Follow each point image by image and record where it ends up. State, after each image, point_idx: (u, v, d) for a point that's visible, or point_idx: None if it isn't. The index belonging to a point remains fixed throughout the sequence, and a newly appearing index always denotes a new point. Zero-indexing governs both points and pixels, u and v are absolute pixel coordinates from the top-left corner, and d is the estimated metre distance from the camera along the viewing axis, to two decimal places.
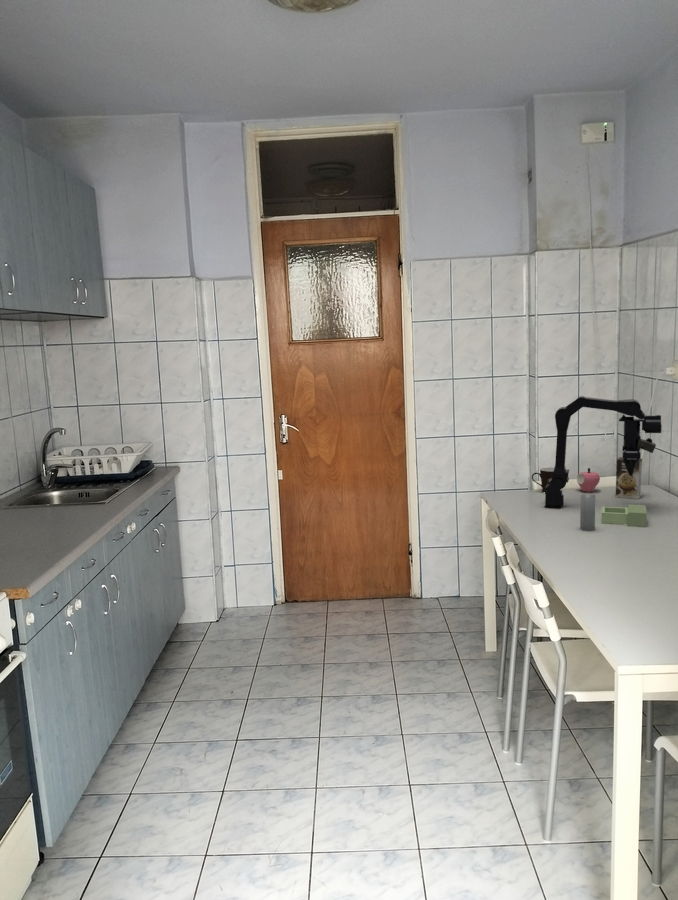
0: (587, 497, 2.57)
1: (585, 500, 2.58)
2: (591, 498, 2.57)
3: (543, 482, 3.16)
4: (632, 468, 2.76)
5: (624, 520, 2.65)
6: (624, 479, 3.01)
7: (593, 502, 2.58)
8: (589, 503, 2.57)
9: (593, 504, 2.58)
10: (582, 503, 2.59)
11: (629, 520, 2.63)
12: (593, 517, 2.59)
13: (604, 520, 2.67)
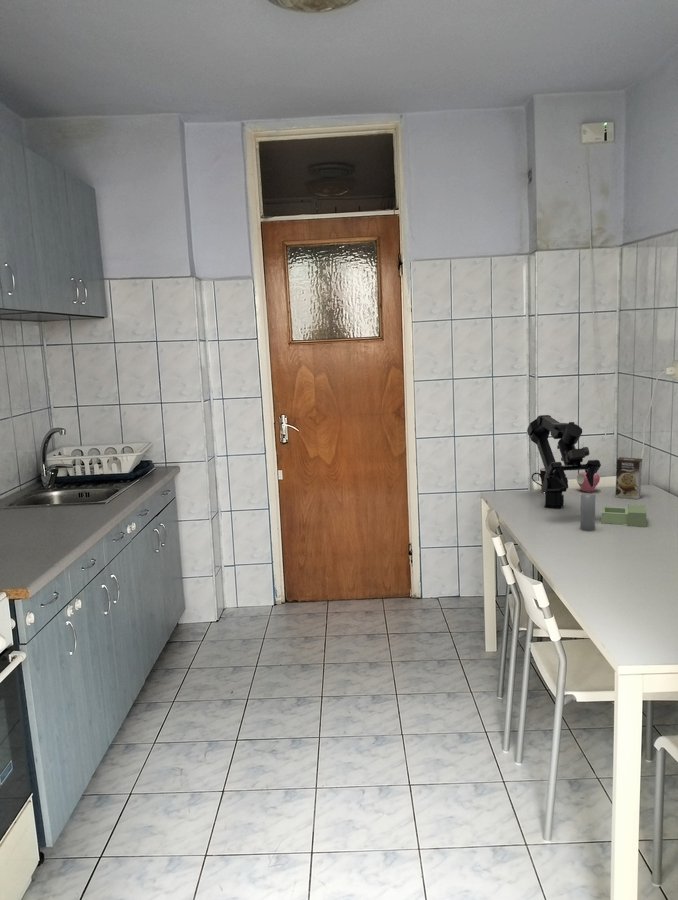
0: (587, 497, 2.57)
1: (585, 500, 2.58)
2: (591, 498, 2.57)
3: None
4: (563, 480, 2.68)
5: (624, 520, 2.65)
6: (624, 479, 3.01)
7: (593, 502, 2.58)
8: (589, 503, 2.57)
9: (593, 504, 2.58)
10: (582, 503, 2.59)
11: (629, 520, 2.63)
12: (593, 517, 2.59)
13: (604, 520, 2.67)
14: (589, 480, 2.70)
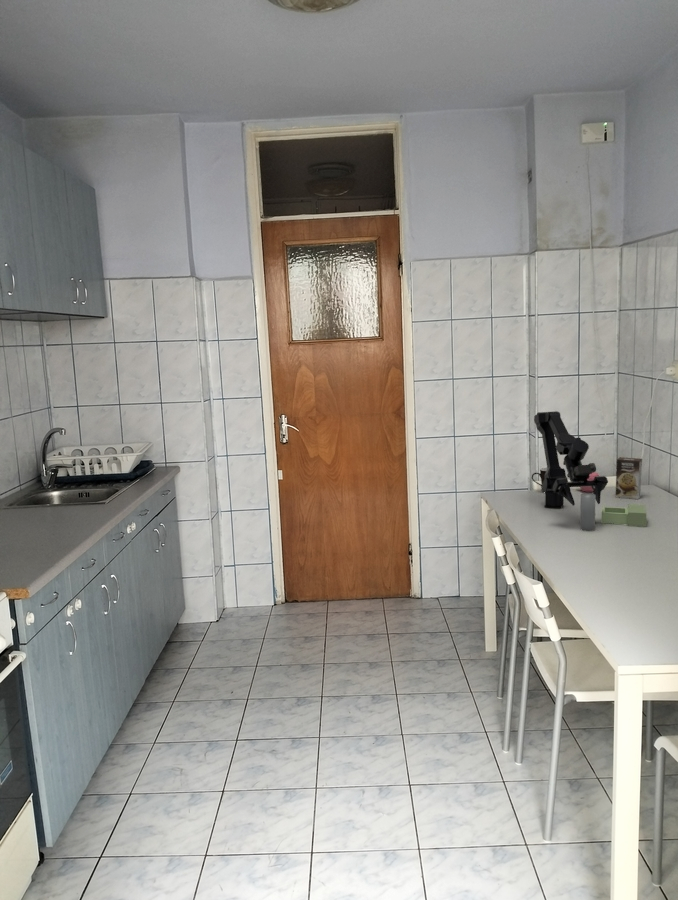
0: (587, 497, 2.57)
1: (585, 500, 2.58)
2: (591, 498, 2.57)
3: None
4: (569, 497, 2.62)
5: (624, 520, 2.65)
6: (624, 479, 3.01)
7: (593, 502, 2.58)
8: (589, 503, 2.57)
9: (593, 504, 2.58)
10: (582, 503, 2.59)
11: (629, 520, 2.63)
12: (593, 517, 2.59)
13: (604, 520, 2.67)
14: (596, 497, 2.63)
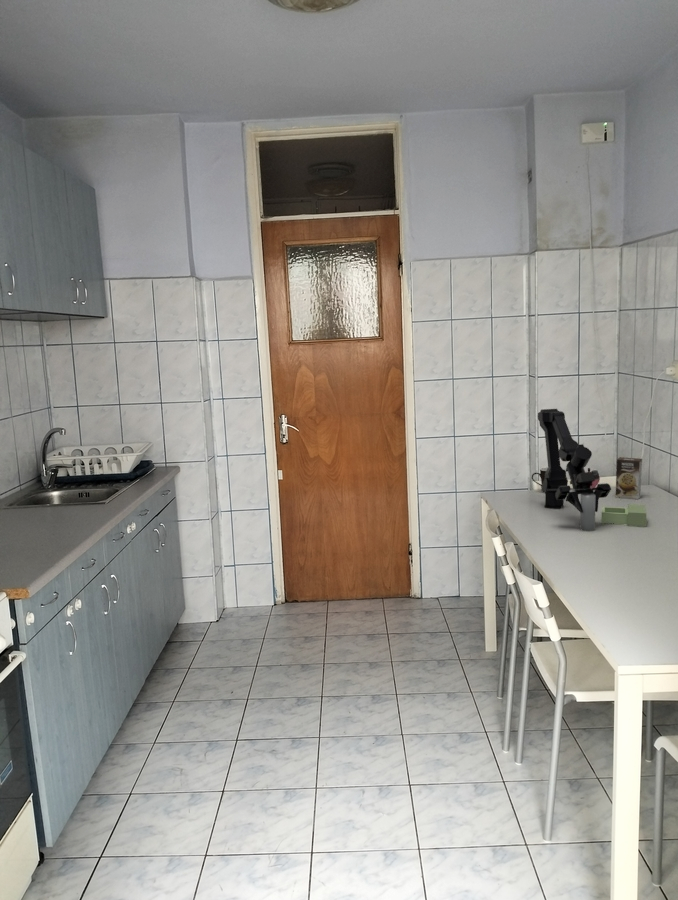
0: (587, 497, 2.57)
1: (585, 500, 2.58)
2: (591, 498, 2.57)
3: None
4: (577, 504, 2.60)
5: (624, 520, 2.65)
6: (624, 479, 3.01)
7: (593, 502, 2.58)
8: (589, 503, 2.57)
9: (593, 504, 2.58)
10: (582, 503, 2.59)
11: (629, 520, 2.63)
12: (593, 517, 2.59)
13: (604, 520, 2.67)
14: None
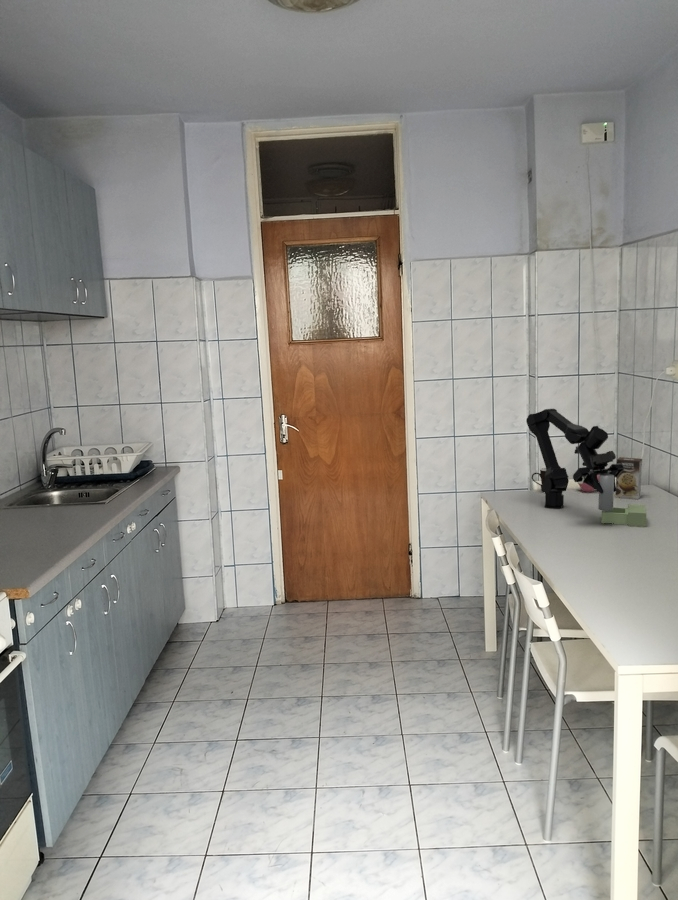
0: (608, 477, 2.60)
1: (605, 481, 2.61)
2: (611, 478, 2.60)
3: (543, 482, 3.16)
4: (597, 485, 2.62)
5: (624, 520, 2.65)
6: (624, 479, 3.01)
7: (613, 482, 2.61)
8: (609, 483, 2.61)
9: (613, 484, 2.61)
10: (602, 484, 2.62)
11: (629, 520, 2.63)
12: (612, 497, 2.62)
13: (604, 520, 2.67)
14: None
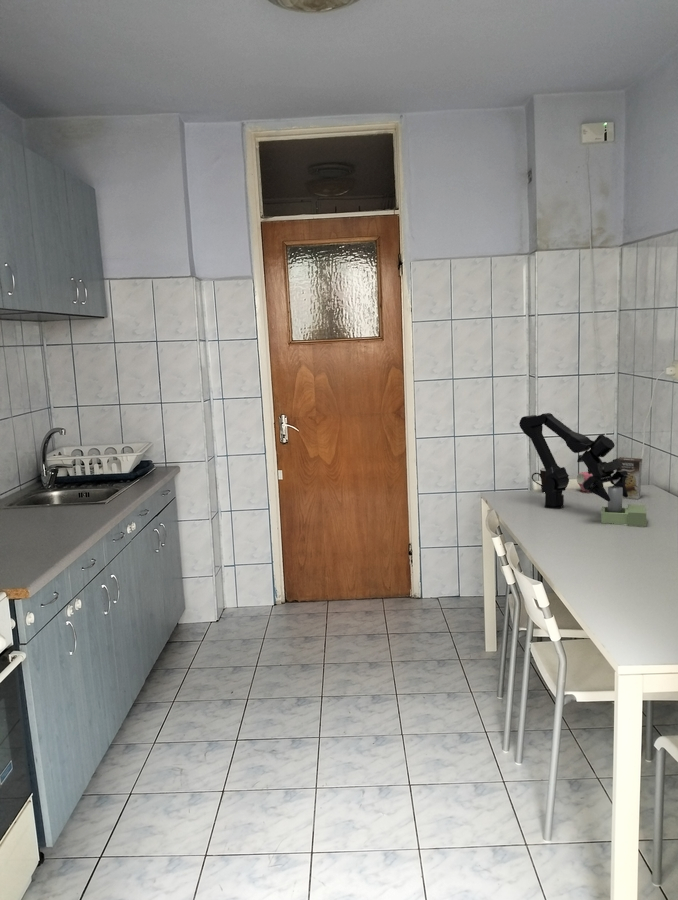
0: (618, 490, 2.66)
1: (616, 493, 2.66)
2: (621, 490, 2.66)
3: (543, 482, 3.16)
4: (603, 493, 2.66)
5: (624, 520, 2.65)
6: None
7: (622, 494, 2.67)
8: (619, 495, 2.66)
9: None
10: (612, 496, 2.67)
11: (629, 520, 2.63)
12: (621, 509, 2.68)
13: (604, 520, 2.67)
14: None
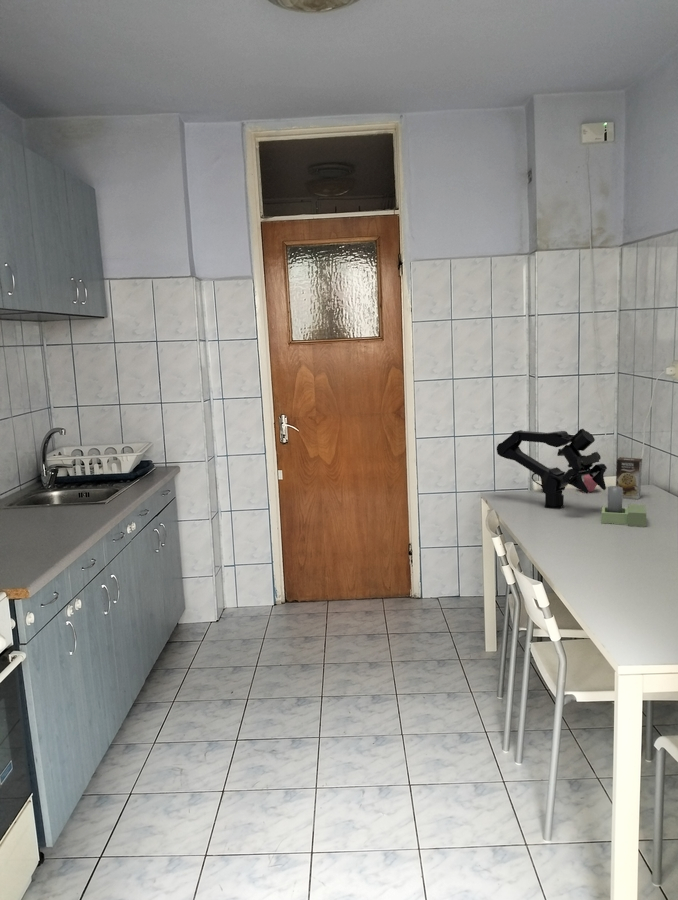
0: (618, 490, 2.66)
1: (616, 493, 2.66)
2: (621, 490, 2.66)
3: (543, 482, 3.16)
4: (582, 486, 2.74)
5: (624, 520, 2.65)
6: (624, 479, 3.01)
7: (622, 494, 2.67)
8: (619, 495, 2.66)
9: None
10: (612, 496, 2.67)
11: (629, 520, 2.63)
12: (621, 509, 2.68)
13: (604, 520, 2.67)
14: (600, 484, 2.80)
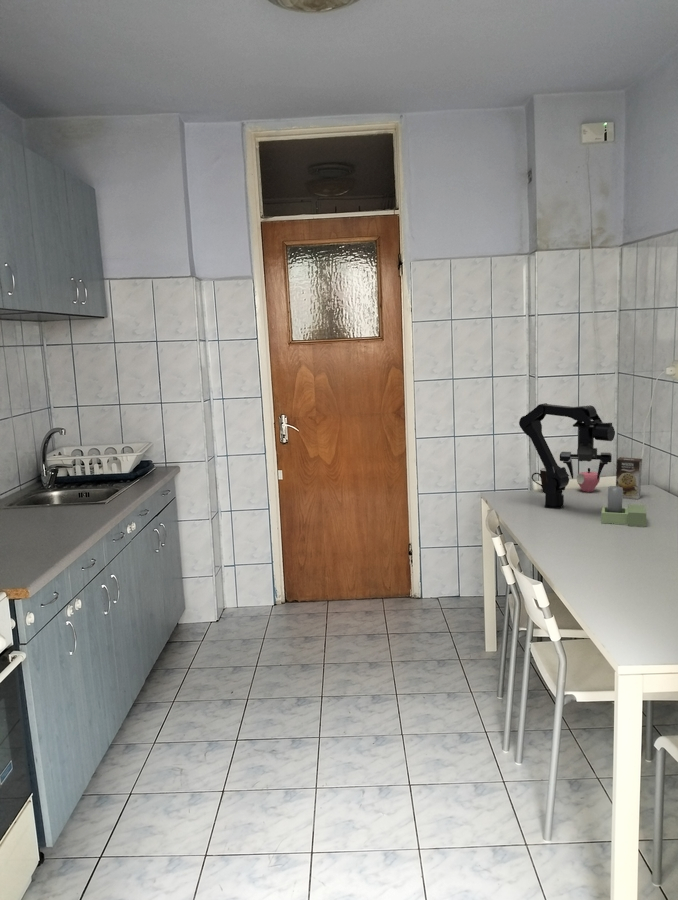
0: (618, 490, 2.66)
1: (616, 493, 2.66)
2: (621, 490, 2.66)
3: (543, 482, 3.16)
4: None
5: (624, 520, 2.65)
6: (624, 479, 3.01)
7: (622, 494, 2.67)
8: (619, 495, 2.66)
9: None
10: (612, 496, 2.67)
11: (629, 520, 2.63)
12: (621, 509, 2.68)
13: (604, 520, 2.67)
14: None
